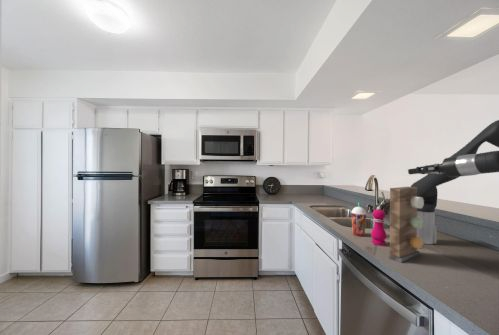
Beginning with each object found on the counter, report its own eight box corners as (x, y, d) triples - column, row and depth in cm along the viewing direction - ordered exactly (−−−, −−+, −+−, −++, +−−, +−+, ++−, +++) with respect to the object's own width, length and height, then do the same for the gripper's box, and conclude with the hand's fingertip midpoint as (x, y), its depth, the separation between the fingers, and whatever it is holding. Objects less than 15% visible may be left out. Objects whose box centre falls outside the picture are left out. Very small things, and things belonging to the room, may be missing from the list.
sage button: (423, 228, 95) (423, 216, 95) (418, 229, 93) (418, 218, 93) (415, 226, 98) (415, 215, 98) (410, 227, 96) (410, 216, 96)
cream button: (423, 207, 95) (423, 196, 95) (418, 209, 93) (418, 197, 93) (415, 206, 98) (415, 195, 98) (410, 207, 95) (410, 196, 95)
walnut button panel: (419, 254, 102) (420, 187, 102) (401, 262, 93) (401, 189, 93) (407, 251, 106) (408, 186, 106) (389, 258, 98) (389, 188, 97)
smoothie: (365, 237, 125) (365, 203, 125) (350, 235, 130) (350, 202, 130) (366, 234, 132) (366, 201, 132) (351, 231, 137) (352, 200, 137)
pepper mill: (388, 246, 112) (389, 208, 112) (373, 245, 113) (374, 207, 113) (383, 241, 119) (383, 205, 119) (369, 240, 121) (369, 205, 120)
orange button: (423, 248, 96) (423, 237, 95) (418, 250, 93) (418, 238, 93) (415, 246, 98) (415, 235, 98) (410, 248, 96) (410, 236, 96)
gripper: (471, 156, 81) (423, 163, 96) (450, 155, 76) (402, 163, 91) (475, 175, 80) (426, 180, 95) (454, 176, 75) (405, 180, 89)
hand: (415, 171), depth 93 cm, fingers open, 8 cm apart
